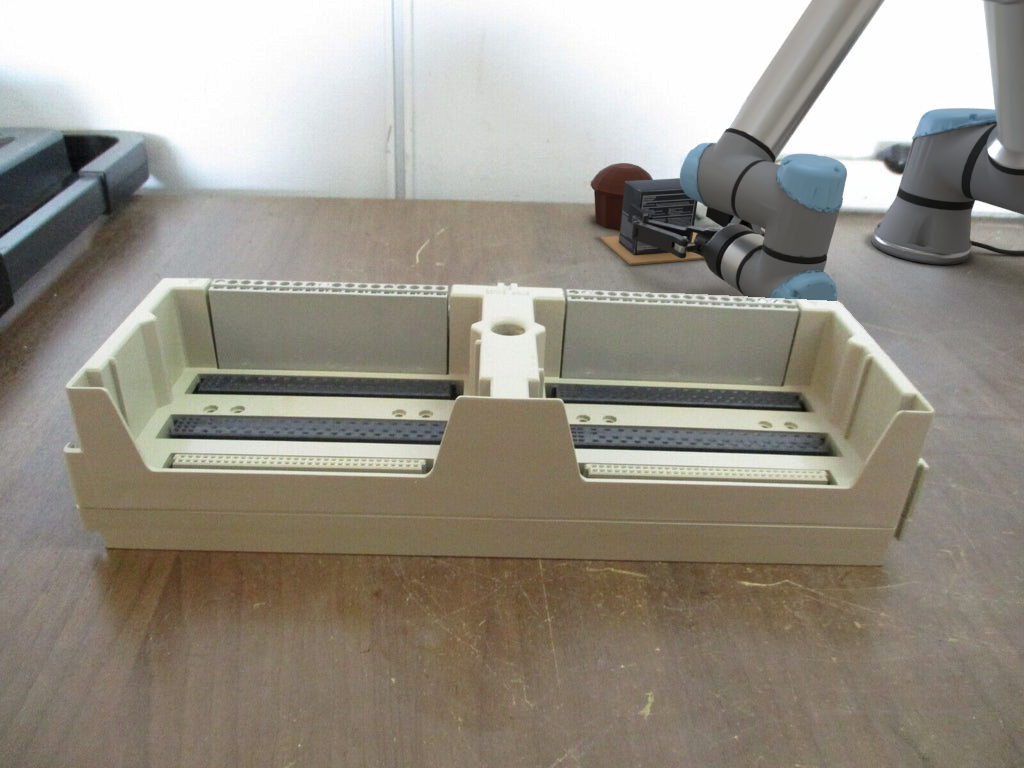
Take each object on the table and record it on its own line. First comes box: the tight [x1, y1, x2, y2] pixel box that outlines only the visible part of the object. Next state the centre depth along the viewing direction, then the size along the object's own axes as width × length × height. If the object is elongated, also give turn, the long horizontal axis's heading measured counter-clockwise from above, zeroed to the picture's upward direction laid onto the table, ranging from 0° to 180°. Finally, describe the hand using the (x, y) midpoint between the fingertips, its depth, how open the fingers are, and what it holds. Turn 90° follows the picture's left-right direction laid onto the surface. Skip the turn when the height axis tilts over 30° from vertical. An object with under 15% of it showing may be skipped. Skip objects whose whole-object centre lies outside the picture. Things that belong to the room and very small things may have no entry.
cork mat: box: [600, 232, 705, 266], centre depth 127 cm, size 20×12×1 cm, turn 107°
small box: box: [618, 177, 699, 255], centre depth 123 cm, size 11×6×10 cm, turn 107°
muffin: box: [590, 162, 654, 230], centre depth 135 cm, size 12×11×10 cm
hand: (670, 210), depth 120 cm, fingers open, 13 cm apart
